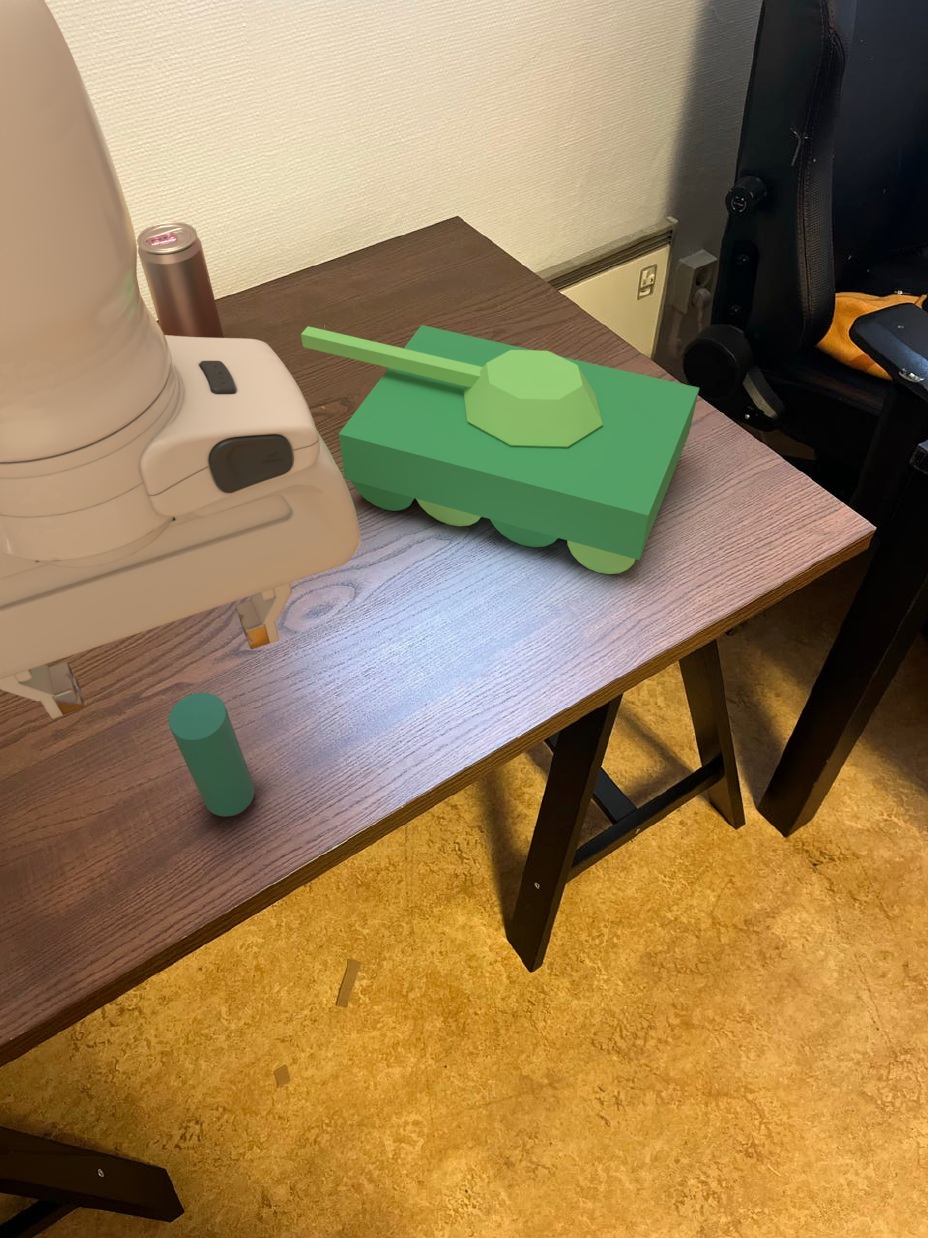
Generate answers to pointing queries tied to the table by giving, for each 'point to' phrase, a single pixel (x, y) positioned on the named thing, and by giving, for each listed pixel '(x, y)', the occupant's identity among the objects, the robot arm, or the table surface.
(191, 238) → the beverage can
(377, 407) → the toy tank
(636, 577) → the table surface
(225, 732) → the dot marker
